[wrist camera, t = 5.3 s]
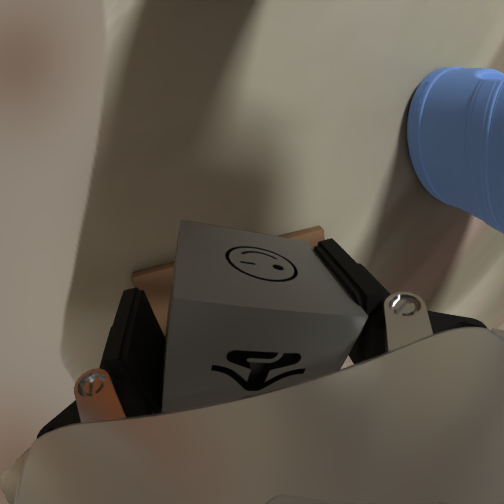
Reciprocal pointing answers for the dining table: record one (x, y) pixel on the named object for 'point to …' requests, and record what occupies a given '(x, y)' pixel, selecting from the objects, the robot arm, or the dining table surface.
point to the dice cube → (250, 317)
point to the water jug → (461, 140)
